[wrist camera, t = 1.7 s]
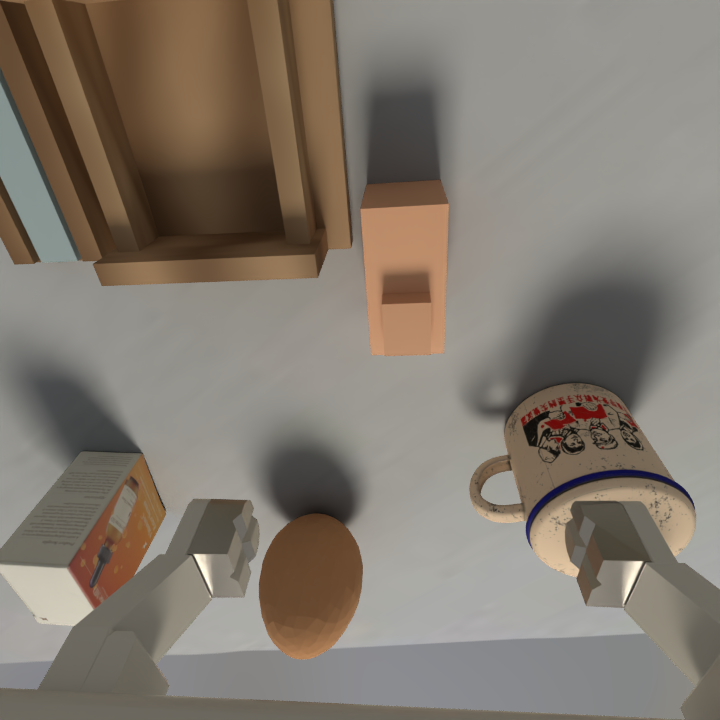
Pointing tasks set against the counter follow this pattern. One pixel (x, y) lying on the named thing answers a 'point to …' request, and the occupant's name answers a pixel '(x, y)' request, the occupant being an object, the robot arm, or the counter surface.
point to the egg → (310, 585)
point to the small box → (83, 537)
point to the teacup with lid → (580, 469)
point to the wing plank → (31, 186)
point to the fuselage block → (405, 266)
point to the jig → (183, 134)
